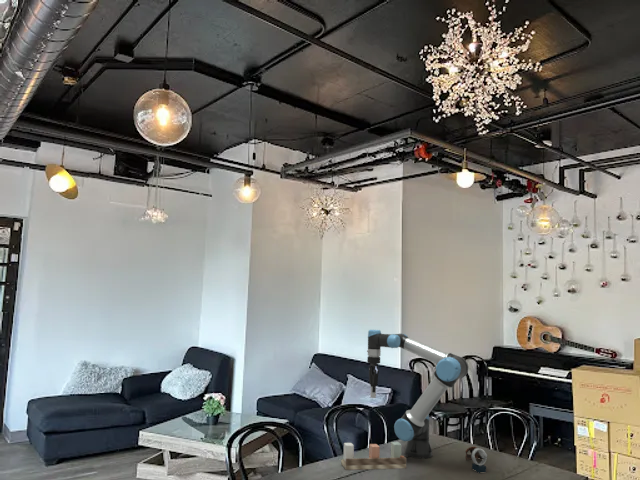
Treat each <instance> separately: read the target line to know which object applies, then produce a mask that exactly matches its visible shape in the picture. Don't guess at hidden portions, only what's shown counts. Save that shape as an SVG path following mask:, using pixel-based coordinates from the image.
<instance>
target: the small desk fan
mask: <svg viewBox="0 0 640 480" xmlns="http://www.w3.org/2000/svg"><path fill="white" fill-rule="evenodd" d="M478 450H479V451H478ZM477 451H478V452H479V454H480V455H481V457H482V458H483V460H482V459H481V461H480V462H477V458H475V453H476V452H477ZM471 457H472V462H473V463H472V464H471V470H472V469H474V470H476V471H477V472H476V471H475V472H476V473H478V472H479V473H478V474H481V473H480V472H486V473H487V466H486V465H484V464H486V462H487V458H488V454H487V452H486V451H485V450H484V449H483V448H479V447H477V448H475V449H474V450H473V452H472V456H471ZM474 470H473V471H474Z"/></svg>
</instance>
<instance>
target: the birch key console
mask: <svg viewBox="0 0 640 480" xmlns="http://www.w3.org/2000/svg"><path fill="white" fill-rule="evenodd" d="M340 461H341V462H340V463H341V464H340V465H342V466H343V468H344V469H345V471H348V470H349V471H351V470H352V471H354V470H359V471H360V470H391V469H407V457H406V456H404V455H402V454H401V456H400V458H391V457H379V458H369V457H367V458H366V457H365V458H363V457H362V458H361V457H359V458H353V459H346V462H345V460H344V459H341V460H340Z"/></svg>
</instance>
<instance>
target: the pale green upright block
mask: <svg viewBox="0 0 640 480" xmlns="http://www.w3.org/2000/svg"><path fill="white" fill-rule="evenodd" d="M401 455H402V444H401V443H400V442H399V441H391V442H390V458H400V456H401Z"/></svg>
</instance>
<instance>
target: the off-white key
mask: <svg viewBox="0 0 640 480" xmlns="http://www.w3.org/2000/svg"><path fill="white" fill-rule="evenodd" d="M354 447H355V445H354V444H353V443H352V442H344V443H343V459H344V460H345V462H346V459H354V455H355V454H354V453H355V451H354V450H355V448H354Z"/></svg>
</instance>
